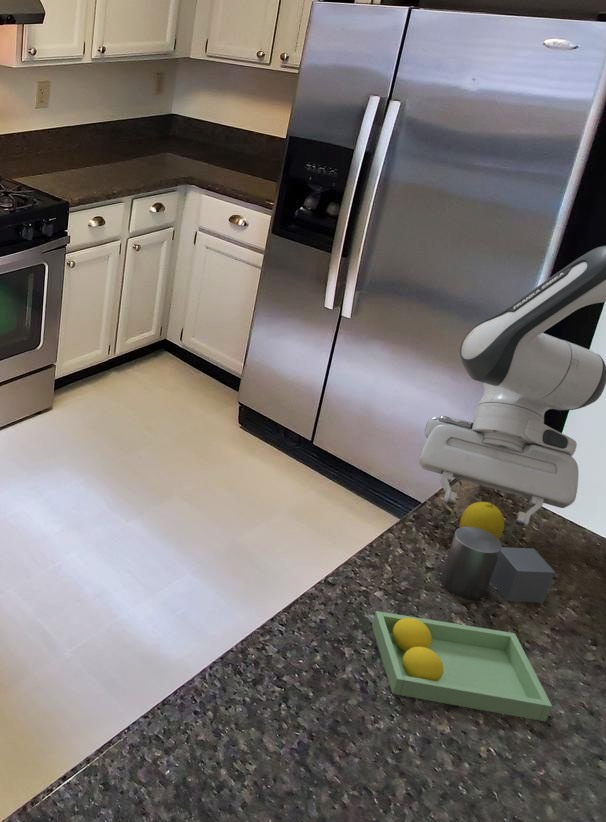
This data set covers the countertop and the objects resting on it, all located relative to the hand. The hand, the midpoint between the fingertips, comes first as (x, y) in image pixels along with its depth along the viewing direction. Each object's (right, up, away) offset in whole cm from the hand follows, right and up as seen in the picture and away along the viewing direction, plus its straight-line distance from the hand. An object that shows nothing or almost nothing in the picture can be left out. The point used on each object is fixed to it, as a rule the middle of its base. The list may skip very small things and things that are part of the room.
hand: (484, 514), depth 122 cm
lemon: (0, -5, +2) cm, 6 cm away
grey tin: (-8, -9, -7) cm, 14 cm away
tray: (-18, -16, -20) cm, 31 cm away
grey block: (-1, -10, -7) cm, 12 cm away
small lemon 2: (-23, -16, -22) cm, 35 cm away
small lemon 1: (-22, -14, -17) cm, 31 cm away
